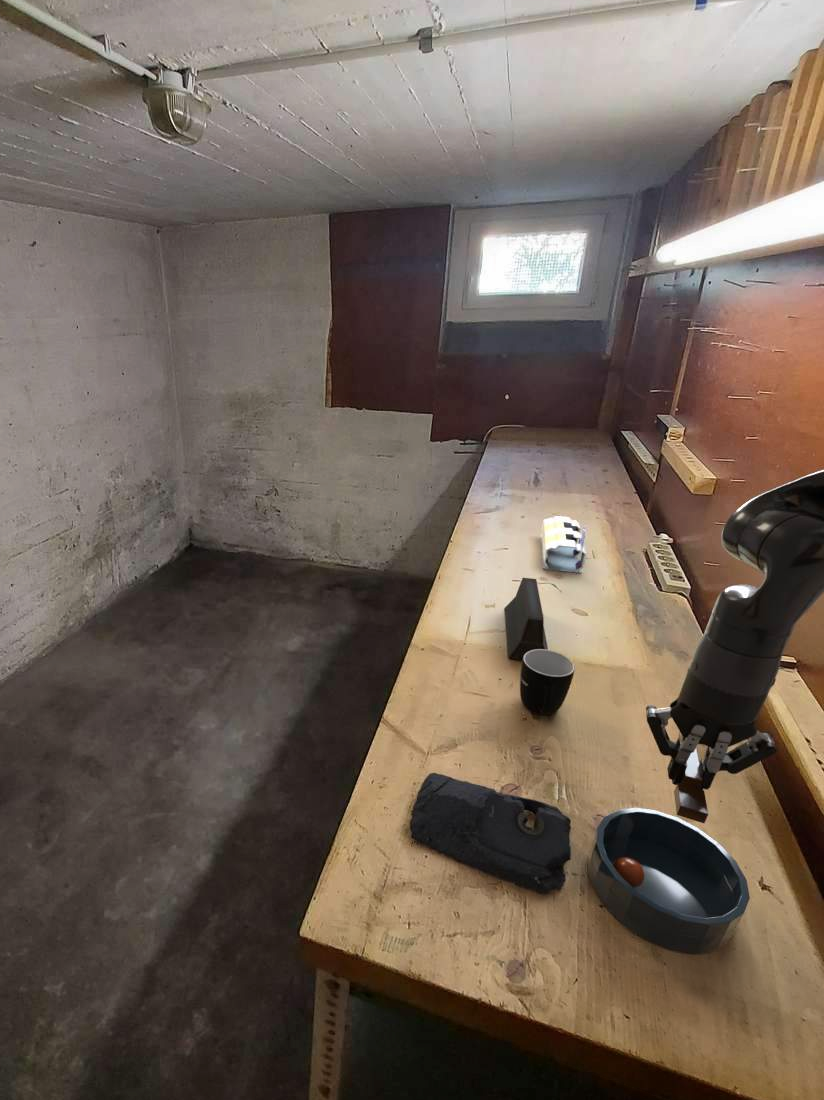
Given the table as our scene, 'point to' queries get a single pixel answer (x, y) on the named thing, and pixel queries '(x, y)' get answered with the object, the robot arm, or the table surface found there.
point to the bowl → (668, 881)
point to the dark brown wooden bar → (691, 792)
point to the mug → (545, 680)
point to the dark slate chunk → (493, 832)
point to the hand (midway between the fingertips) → (685, 783)
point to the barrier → (525, 621)
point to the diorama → (562, 544)
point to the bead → (630, 871)
